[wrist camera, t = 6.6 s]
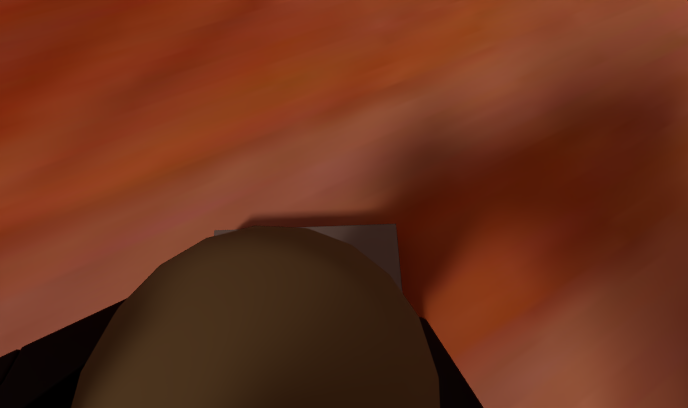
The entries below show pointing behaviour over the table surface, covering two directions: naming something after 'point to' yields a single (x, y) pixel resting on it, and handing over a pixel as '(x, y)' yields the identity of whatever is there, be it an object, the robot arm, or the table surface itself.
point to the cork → (263, 331)
